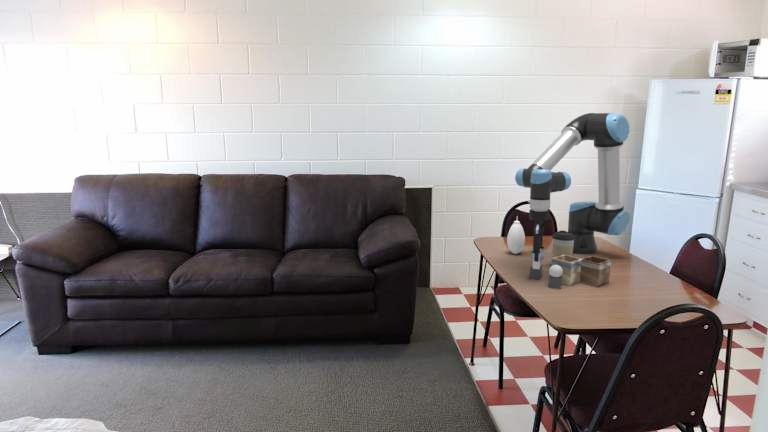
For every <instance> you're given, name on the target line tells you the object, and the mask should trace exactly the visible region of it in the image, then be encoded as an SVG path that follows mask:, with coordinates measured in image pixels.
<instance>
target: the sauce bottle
mask: <svg viewBox="0 0 768 432" xmlns="http://www.w3.org/2000/svg"><path fill="white" fill-rule="evenodd" d="M518 219H519V218H518V215H517V216H516V220H514V221H513V223H512V224H511V226H510V228H509V231H508V233H507V237H506V245H507V248H508V250H509V251H510V252H511V253H512V254H514V255H518V254H519V253H521V252H522V251H523V249H524V247H525V244H526V235H525V231H524V228H523V225H522V224H521V222H520V221H519V220H518Z"/></svg>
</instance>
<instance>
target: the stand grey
mask: <svg viewBox="0 0 768 432" xmlns="http://www.w3.org/2000/svg"><path fill="white" fill-rule="evenodd" d="M561 278H562V276H561V277H559V278H556V277H552V276H551V275H550V274H549V277H548V288H553V289H561V287H562V283H561Z"/></svg>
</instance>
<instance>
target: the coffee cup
mask: <svg viewBox="0 0 768 432" xmlns="http://www.w3.org/2000/svg"><path fill="white" fill-rule="evenodd" d="M551 238H552V243H551V245H552V247H551V248H552V250H551V251H552V258H554V257H558V256H561V255H568V256H573V254H574V253H573V247H574V240H575V236H573V235H572V233H570V232H568V231H566V230H558V231H555V233H553V234H552V236H551Z"/></svg>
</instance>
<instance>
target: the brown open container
mask: <svg viewBox="0 0 768 432" xmlns="http://www.w3.org/2000/svg"><path fill="white" fill-rule="evenodd" d="M611 267H612V260H611V259H607V258H603V257H600V256H594V255H589V256H585V257H582V258H581V271H580V282H579V283H582V284H585V285H590V286H593V287H596V288H599V287H601V286H604V285H607V284H609V283H610V276H611V275H610V274H611Z"/></svg>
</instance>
